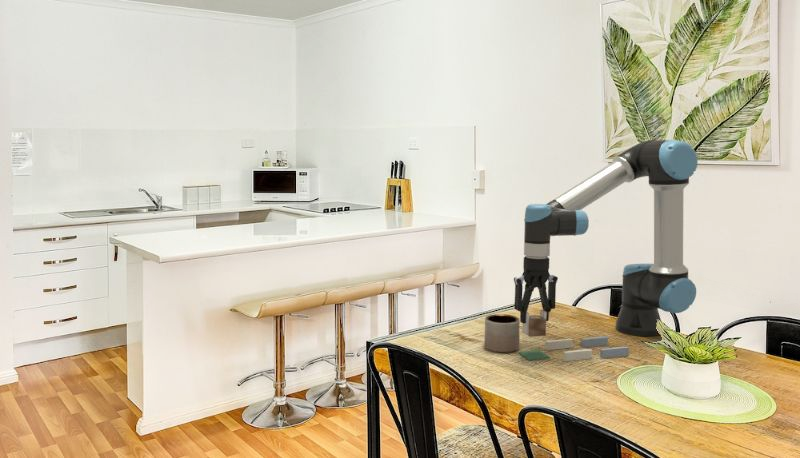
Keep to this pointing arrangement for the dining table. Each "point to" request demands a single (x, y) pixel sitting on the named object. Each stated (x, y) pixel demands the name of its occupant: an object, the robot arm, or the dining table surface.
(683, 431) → the dining table surface
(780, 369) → the dining table surface
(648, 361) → the dining table surface
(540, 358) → the pad
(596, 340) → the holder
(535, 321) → the letter cube
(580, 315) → the dining table surface
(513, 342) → the planter
